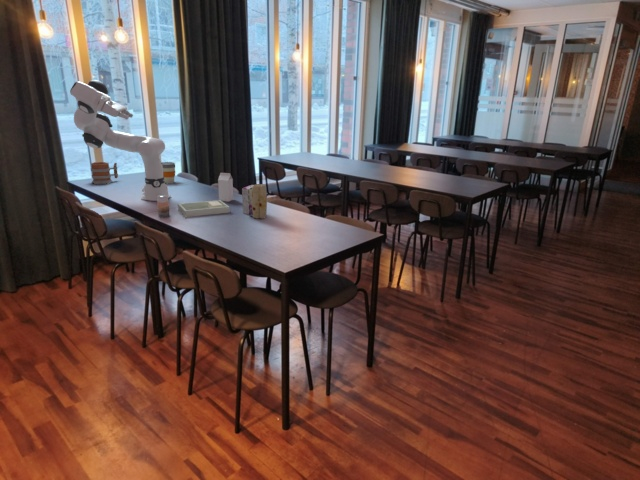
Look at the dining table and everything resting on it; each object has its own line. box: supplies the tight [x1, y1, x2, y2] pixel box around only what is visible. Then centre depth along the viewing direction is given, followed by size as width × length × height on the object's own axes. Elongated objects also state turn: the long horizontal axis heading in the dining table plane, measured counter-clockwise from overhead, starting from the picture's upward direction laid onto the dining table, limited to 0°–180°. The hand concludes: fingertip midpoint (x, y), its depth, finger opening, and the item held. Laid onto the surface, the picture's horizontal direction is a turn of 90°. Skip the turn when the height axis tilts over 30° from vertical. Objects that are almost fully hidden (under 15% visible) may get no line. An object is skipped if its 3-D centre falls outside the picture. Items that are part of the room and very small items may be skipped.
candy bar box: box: [241, 184, 255, 215], centre depth 254 cm, size 11×5×16 cm, turn 160°
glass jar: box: [156, 194, 171, 219], centre depth 242 cm, size 6×6×12 cm
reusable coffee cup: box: [161, 161, 176, 184], centre depth 331 cm, size 13×13×15 cm
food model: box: [252, 183, 268, 220], centre depth 245 cm, size 10×7×20 cm
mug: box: [90, 161, 119, 185], centre depth 324 cm, size 14×19×15 cm
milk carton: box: [217, 172, 234, 203], centre depth 280 cm, size 7×7×19 cm
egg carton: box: [208, 200, 223, 208], centre depth 257 cm, size 10×6×4 cm, turn 30°
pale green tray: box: [177, 199, 231, 220], centre depth 254 cm, size 18×26×4 cm
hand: (130, 117), depth 226 cm, fingers open, 8 cm apart
